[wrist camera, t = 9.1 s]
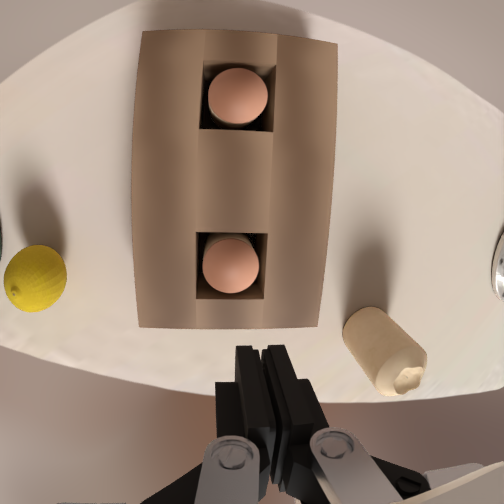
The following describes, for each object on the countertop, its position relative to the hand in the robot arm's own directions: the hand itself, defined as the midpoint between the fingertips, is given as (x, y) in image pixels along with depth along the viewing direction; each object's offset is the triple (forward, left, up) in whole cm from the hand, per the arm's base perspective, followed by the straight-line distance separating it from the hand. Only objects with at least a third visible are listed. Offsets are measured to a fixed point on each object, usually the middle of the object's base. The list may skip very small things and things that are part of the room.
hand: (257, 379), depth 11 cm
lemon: (+17, +2, -19) cm, 26 cm away
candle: (-15, +9, -19) cm, 26 cm away
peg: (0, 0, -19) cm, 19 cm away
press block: (0, -6, -19) cm, 20 cm away
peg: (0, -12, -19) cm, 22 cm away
